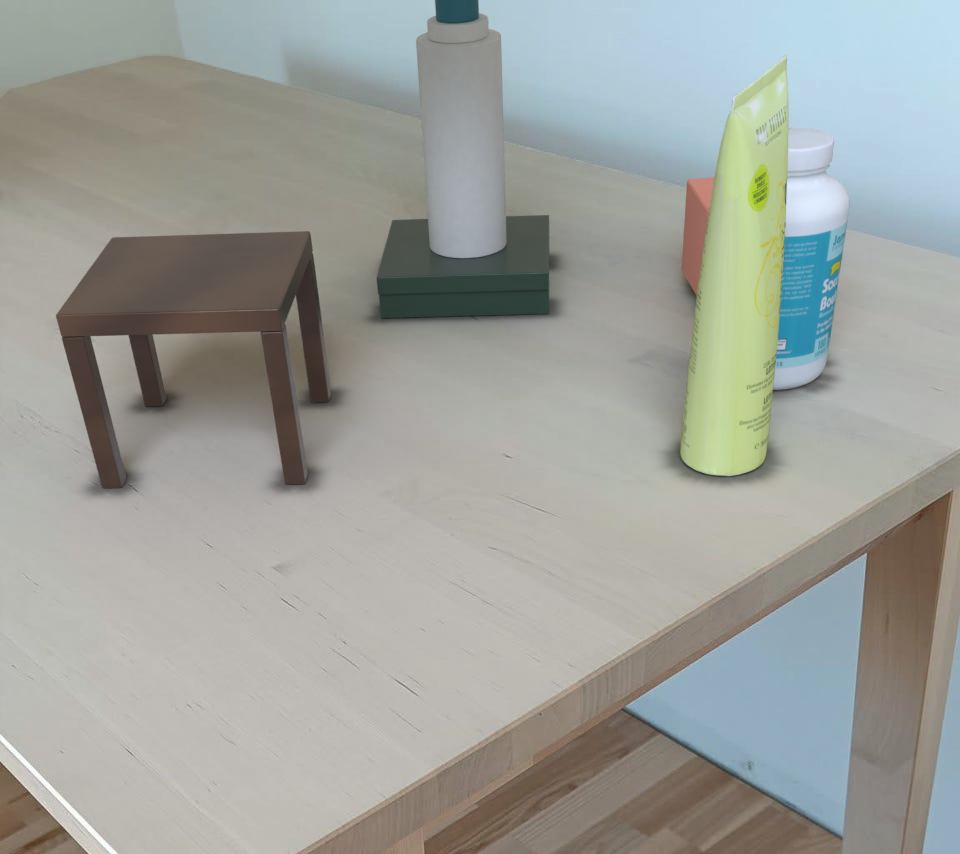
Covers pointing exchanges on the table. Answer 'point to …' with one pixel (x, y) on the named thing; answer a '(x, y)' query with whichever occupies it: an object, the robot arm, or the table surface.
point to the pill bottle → (809, 258)
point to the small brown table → (196, 322)
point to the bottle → (462, 131)
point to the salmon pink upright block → (695, 227)
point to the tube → (740, 286)
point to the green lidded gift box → (465, 274)
